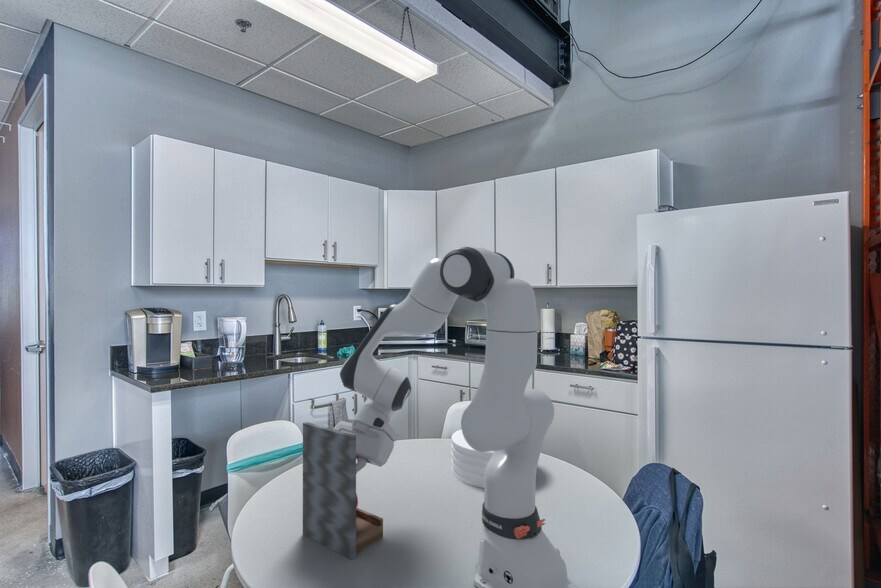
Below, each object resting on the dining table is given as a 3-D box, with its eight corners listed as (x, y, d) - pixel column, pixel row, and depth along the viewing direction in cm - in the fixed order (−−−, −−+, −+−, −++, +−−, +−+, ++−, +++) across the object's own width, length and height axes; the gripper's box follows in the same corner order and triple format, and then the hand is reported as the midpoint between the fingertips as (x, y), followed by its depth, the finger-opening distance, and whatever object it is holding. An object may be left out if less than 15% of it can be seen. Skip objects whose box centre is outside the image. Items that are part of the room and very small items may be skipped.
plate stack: (486, 497, 133) (486, 459, 133) (435, 466, 156) (435, 433, 156) (552, 476, 148) (552, 441, 148) (497, 451, 172) (497, 421, 172)
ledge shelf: (385, 537, 111) (386, 425, 111) (352, 559, 102) (352, 436, 101) (337, 516, 121) (337, 413, 121) (302, 534, 112) (302, 423, 112)
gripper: (336, 411, 123) (307, 457, 115) (392, 424, 111) (363, 476, 103) (349, 423, 126) (321, 468, 119) (403, 437, 114) (376, 489, 106)
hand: (341, 472), depth 111 cm, fingers closed on pepper mill, 5 cm apart
